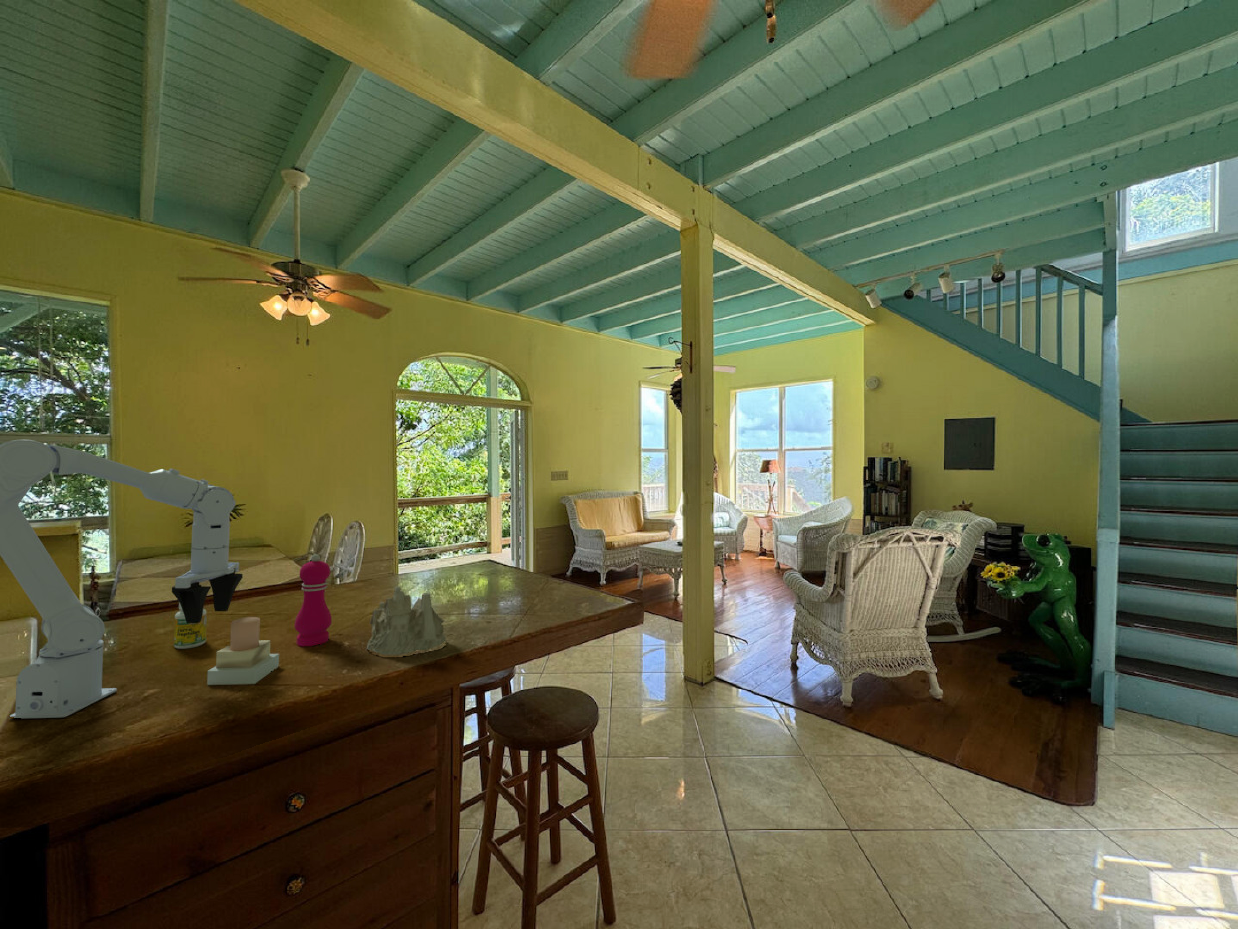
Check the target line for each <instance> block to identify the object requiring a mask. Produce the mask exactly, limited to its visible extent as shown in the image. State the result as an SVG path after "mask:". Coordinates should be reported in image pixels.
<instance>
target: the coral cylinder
mask: <svg viewBox="0 0 1238 929" xmlns="http://www.w3.org/2000/svg"><path fill="white" fill-rule="evenodd" d="M260 625H261V618H260V617H257V616H246V617H241V618H236V619H234V620H232V621H231V624H230V641H229V642H230V643H229V645H230V650H233V651H244V650H249V649H253V648H255V647H257V646H258V645H259V640H260V631H261V630H260V629H261V626H260Z"/></svg>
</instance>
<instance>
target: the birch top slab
mask: <svg viewBox="0 0 1238 929" xmlns="http://www.w3.org/2000/svg"><path fill="white" fill-rule="evenodd" d="M270 654H271V639H270V640H264V639H263V640H262V639H261V640H260V639H259V645H258V646H257V647H255V648H253V649H249V650H244V651H233V650H230V644H229V645H227V646H225V647H224V648H221V649H220V650H217V651H216V664H215V666H216V668H251V667H253V666H254V665H256V664H257V663H259V662H261V661H262V660H264V659H265V658H267V657H268V656H270Z"/></svg>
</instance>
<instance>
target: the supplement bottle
mask: <svg viewBox="0 0 1238 929" xmlns="http://www.w3.org/2000/svg"><path fill="white" fill-rule="evenodd" d="M178 609H179V611H177V612H176V613H175V615H174V627H173V628H174V631H173V632H174V634H173V635H174V636H173V647H174V648H175V649H178V650H180V649H181V650H182V649H183V650H184V649H192V648H196V647H200V646H202V645H203V644H206V641H207V610H206V609H204V608H203V615H202V619H201V622H199V623H186V620H185V616H184V613H183V610H182V607H181V605H180V603H179V602H178Z"/></svg>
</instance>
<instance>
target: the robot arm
mask: <svg viewBox="0 0 1238 929" xmlns="http://www.w3.org/2000/svg"><path fill="white" fill-rule="evenodd" d="M180 472H181V471H180V470H177V469H174V468H169V470H166V469H163V468H161V469H157V470H153V471H150V472H147V471H144V470H141V469H138V468H135V467H133V466H129V465H126V464H123V463H120V462H118V461H114V460H111V459H108V458H105V457H102V456H100V455H97V454H93V453H89V452H87V451H83V450H80V449H74V448H69V447H65V446H59V445H56V444H55V445H54V444H45V443H42V442H40V441H37V440H32V439H16V440H8V441H5V442H3V443H1V444H0V557H1V558H2V560H3V562H4V563H5V564H6V566H7V567H8V569H9V571H10V572H11V573H12V574H13V576H14V578H15V579H16V581H17V583H18V584H19V585H20V587H21V589H23V591H24V592H25V594H26V595H27V597H28V599H29V600H30V601H31V603H32V604H33V606H34V608H35V609H36V611H37V612H38V614H39V615H40V617H41V618H42V621H41V633H42V634H43V635H44V636H45V637H46V639H47V642H46V643H45V644H44V646H42V648H40V649H39V652H38V653H39V655H38V657H37V658H36V660H35V661H33V662H31V663H30V664H29V665H27V666H25V667H23V669H21V671H20V672H19V674H18V675H17V677H16V683H15V684H16V685H15V686H16V688H15V689H16V690H15V711H14V713H12V714H10V715H9V716H10V717H14V718H21V719H47V718H48V719H50V718H51V719H53V718H65V717H68V716H70V715H72V714H74V713H77V712H78V711H80V710H82V709H84V708H86V707H89V706H90V705H91V704H94V703H96V702H98V701H100V700H102V699H104V698H105V697H108V696H110V695H112V694H114V693H116V692H117V690H118V689H117V688H116V687H112V688H111V687H110V688H109V687H108V688H105V687H104V688H103V666H104V664H103V661H104V660H103V658H104V640H103V639H102V638H103V636H104V633H105V632H106V628H105V626H106V625H105V623H104V621H103V619H101V618H100V617H98V616H97V615H96V613H95V611H94V610H93V609H92V608H91V607H89V606H88V605H85V604H84V603H83V604H82V603H81V601H80V599H79V598H78V597H77V595H76V594H75V592H74V591H73V590H72V588H71V586H70V584H69V583H68V582H67V580H66V579H65V577H64V575H63V573H62V572H61V571H60V569H59V567H58V566H57V565H56V563H55V561H54V559H53V558H52V556H51V555H50V553H49V552H48V551H47V548H46V547H45V546H44V544H43V542H42V541H41V539H40V538H39V536H38V535H37V533H36V531H35V530H34V528H33V527H32V526H31V524H30V522H29V520H28V519H27V517H26V516H25V513H24V512H23V511H22V509H21V508H20V506H19V504H20V503H21V502H22V501H23V499H24V498H25V496H26V495H27V493H29V491H30V490H31V488H32V486H34V485H35V484H37V483H39V481H41V480H43V479H44V478H45V477H47V476H48V475H49V474H54V475H58V476H62V475H63V476H64V475H73V474H75V475H77V474H84V475H88V476H91V477H95V478H99V479H103V480H105V481H106V480H107V481H110V482H114V483H118V484H122V485H126V486H130V487H133V488H137V489H139V490H140V492H141V494H142V495H143V498H145V499H147V500H151V501H154V502H158V503H163V504H166V505H169V506H173V507H176V508H180V509H184V510H189V509H191V511H193V517H192V518H193V520H192V525H191V528H192V530H191V549H190V552H191V553H190V554H191V556H190V570H189V571H187V572H186V573H184V574H182V575H179V576H177V577H175V583H174V584H175V585H174V586H173V585H172V586H171V593H172V594H173V595H174V596H175V598H176V599H177V601H178V604H179V603H180V605H181V607H182V610H183V613H184V616H185V620H186V623H199V622H201V619H202V615H203V609H204V607H205V603H206V599H207V595H208V594H209V592H210V590H212V596H213V598H212V599H213V602H212V603H213V610H214V612H228V611H229V609H230V605H231V603H232V602H231V601H232V599H233V596H234V594H235V592H236V589H237V587H238V585H239V583H241V581H242V579H243V577H244V576H243V573H239V571H240V562H229V552H230V551H229V550H230V532H231V530H230V528H231V527H230V526H231V523H230V515H231V512H232V511H233V510H234V508H235V507H236V503H237V501H236V500H235V498H234V496H233V493H232V492H230V490H228V489H227V488H225V487H221V486H216V485H213V484H209V480H206V479H203V478H201V479H200V480H197V479H195V478H191V477H189V476H186V475H182V474H180ZM206 581H208V582H209V583H210V585H209V586H207V585H206V586H204V585H202V584H201V583H203V582H206Z"/></svg>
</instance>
